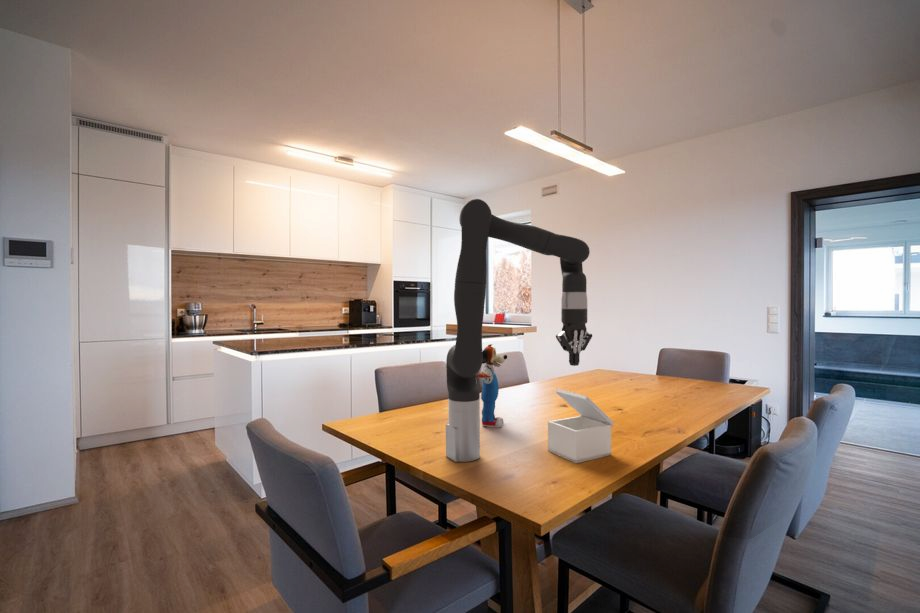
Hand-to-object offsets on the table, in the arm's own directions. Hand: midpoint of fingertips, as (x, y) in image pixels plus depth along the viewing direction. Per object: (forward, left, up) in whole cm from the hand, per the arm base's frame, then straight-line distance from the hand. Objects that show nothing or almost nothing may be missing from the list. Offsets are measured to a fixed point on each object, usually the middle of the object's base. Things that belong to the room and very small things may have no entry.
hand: (574, 365), depth 129 cm
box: (+2, 0, -27) cm, 27 cm away
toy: (-4, +38, -27) cm, 47 cm away
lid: (+4, 0, -13) cm, 14 cm away
